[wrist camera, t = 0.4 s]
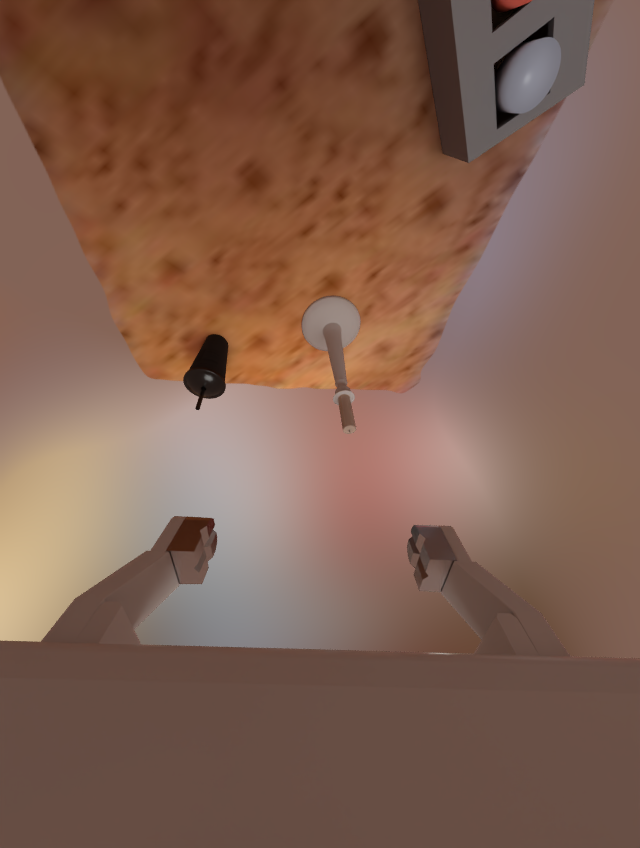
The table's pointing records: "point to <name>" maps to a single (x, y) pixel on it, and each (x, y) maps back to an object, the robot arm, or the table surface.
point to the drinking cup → (208, 370)
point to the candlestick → (334, 344)
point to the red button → (507, 4)
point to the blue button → (527, 75)
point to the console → (474, 64)
